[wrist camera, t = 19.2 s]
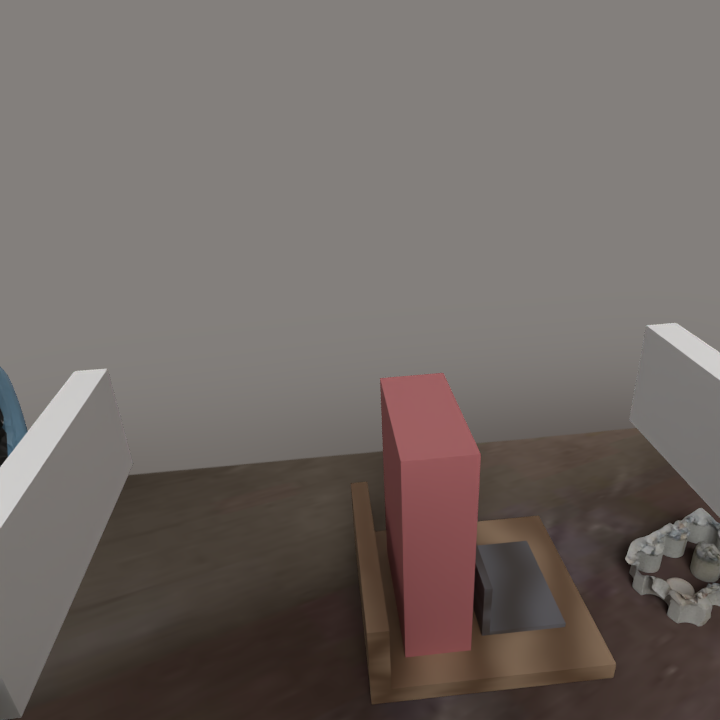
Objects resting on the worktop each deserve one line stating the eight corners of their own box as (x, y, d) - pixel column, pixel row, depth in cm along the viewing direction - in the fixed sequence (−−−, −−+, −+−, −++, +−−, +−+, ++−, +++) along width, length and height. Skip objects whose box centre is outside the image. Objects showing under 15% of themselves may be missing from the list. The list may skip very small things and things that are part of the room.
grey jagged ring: (686, 640, 46) (696, 603, 45) (611, 575, 53) (618, 540, 51) (773, 588, 50) (786, 552, 48) (694, 533, 56) (703, 500, 55)
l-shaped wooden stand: (371, 704, 43) (366, 633, 39) (355, 545, 57) (350, 483, 54) (613, 677, 43) (629, 605, 40) (537, 527, 58) (544, 465, 54)
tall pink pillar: (405, 657, 44) (400, 461, 36) (386, 550, 54) (380, 378, 46) (470, 650, 44) (480, 454, 36) (440, 545, 54) (443, 372, 46)
